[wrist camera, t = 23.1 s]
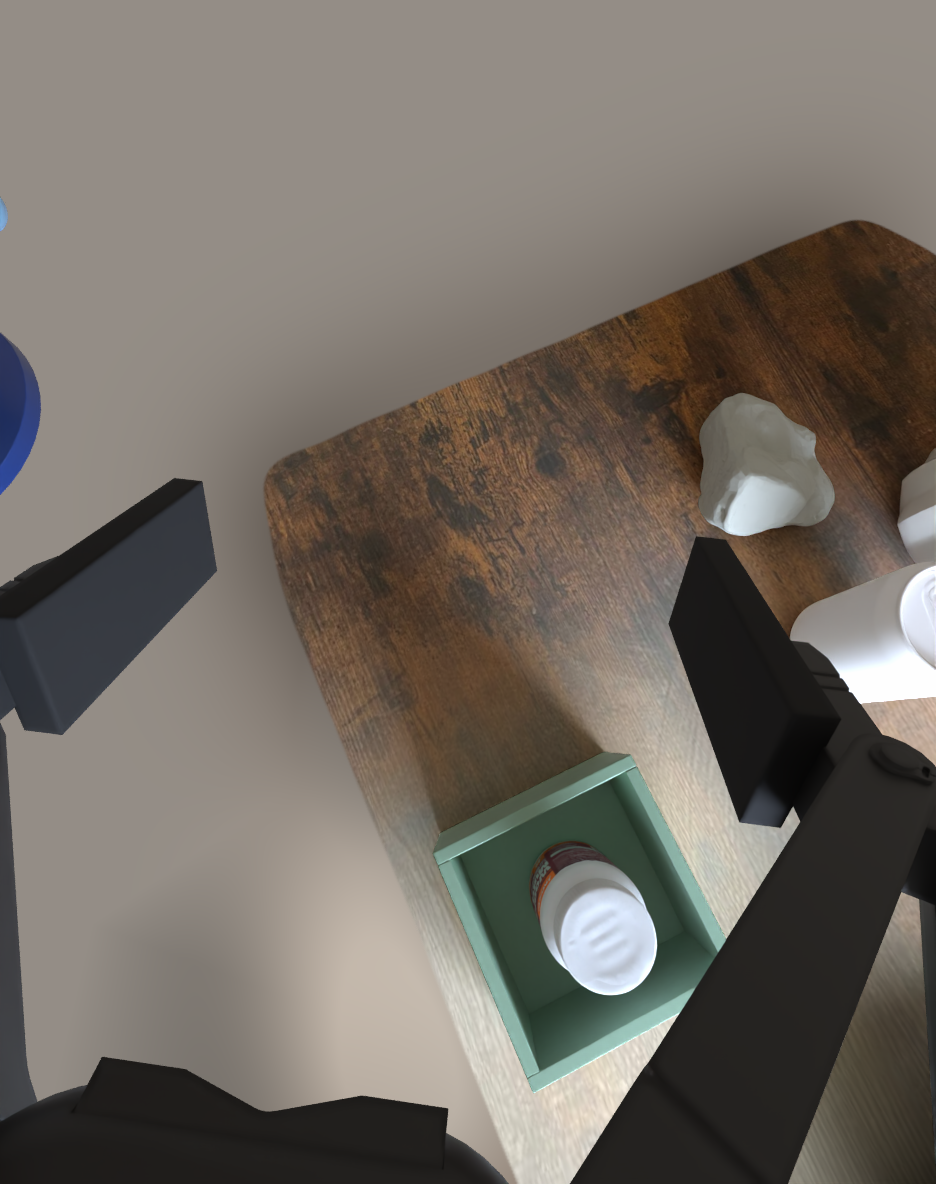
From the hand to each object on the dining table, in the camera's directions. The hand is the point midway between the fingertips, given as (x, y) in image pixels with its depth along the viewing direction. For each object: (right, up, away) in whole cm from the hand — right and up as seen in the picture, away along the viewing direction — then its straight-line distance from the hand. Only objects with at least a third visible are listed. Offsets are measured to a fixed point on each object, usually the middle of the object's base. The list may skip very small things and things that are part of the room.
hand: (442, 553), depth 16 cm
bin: (+8, -22, +26) cm, 35 cm away
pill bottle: (+8, -22, +26) cm, 35 cm away
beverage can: (+29, -6, +30) cm, 42 cm away
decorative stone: (+24, +8, +33) cm, 42 cm away
